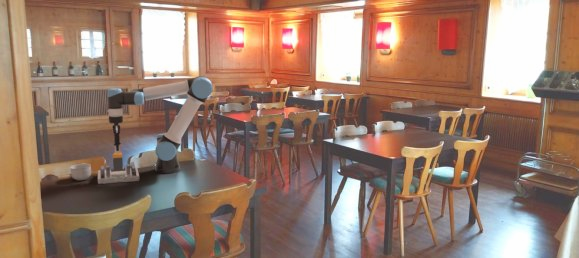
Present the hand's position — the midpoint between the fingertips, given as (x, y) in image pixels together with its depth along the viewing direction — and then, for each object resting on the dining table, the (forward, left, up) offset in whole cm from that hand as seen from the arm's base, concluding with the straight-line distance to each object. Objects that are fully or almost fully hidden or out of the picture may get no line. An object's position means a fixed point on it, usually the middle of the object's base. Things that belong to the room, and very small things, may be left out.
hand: (117, 155), depth 270 cm
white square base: (0, 0, -10) cm, 10 cm away
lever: (0, 0, -8) cm, 8 cm away
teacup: (+20, -6, -14) cm, 25 cm away
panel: (0, 0, -13) cm, 13 cm away
